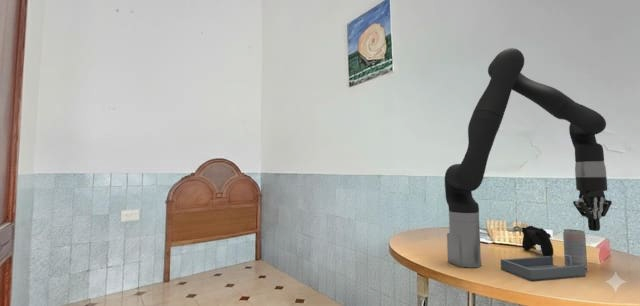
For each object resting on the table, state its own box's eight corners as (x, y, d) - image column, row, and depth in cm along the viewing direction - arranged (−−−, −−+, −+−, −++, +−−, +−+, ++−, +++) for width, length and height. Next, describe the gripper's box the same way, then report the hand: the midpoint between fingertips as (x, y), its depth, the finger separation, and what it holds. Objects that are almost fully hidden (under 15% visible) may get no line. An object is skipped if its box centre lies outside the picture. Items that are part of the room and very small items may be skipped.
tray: (531, 281, 86) (531, 270, 86) (501, 269, 96) (500, 259, 96) (585, 276, 89) (584, 265, 89) (550, 265, 100) (549, 256, 100)
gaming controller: (560, 259, 107) (559, 230, 107) (543, 259, 107) (541, 230, 108) (533, 249, 121) (532, 223, 122) (517, 249, 121) (516, 223, 122)
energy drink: (584, 268, 97) (581, 229, 97) (590, 273, 92) (587, 232, 93) (562, 266, 99) (560, 228, 100) (568, 271, 94) (565, 231, 95)
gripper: (586, 176, 94) (590, 233, 93) (620, 175, 97) (624, 231, 95) (562, 176, 101) (565, 229, 100) (594, 175, 104) (598, 227, 103)
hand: (594, 230), depth 98 cm, fingers closed
